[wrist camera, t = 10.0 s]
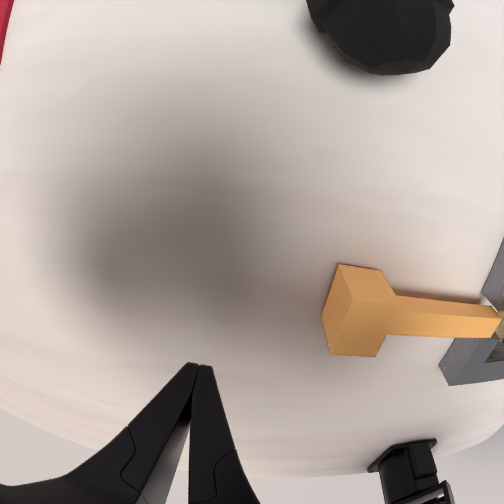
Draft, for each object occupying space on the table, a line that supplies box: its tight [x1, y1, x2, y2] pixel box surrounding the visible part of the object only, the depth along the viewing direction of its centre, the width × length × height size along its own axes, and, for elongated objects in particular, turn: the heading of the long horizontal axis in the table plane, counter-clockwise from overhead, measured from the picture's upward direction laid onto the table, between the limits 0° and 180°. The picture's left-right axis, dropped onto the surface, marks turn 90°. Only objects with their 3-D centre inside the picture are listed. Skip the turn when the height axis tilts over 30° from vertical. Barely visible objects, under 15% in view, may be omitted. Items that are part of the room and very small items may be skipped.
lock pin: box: [321, 264, 502, 357], centre depth 14 cm, size 3×11×3 cm, turn 81°
